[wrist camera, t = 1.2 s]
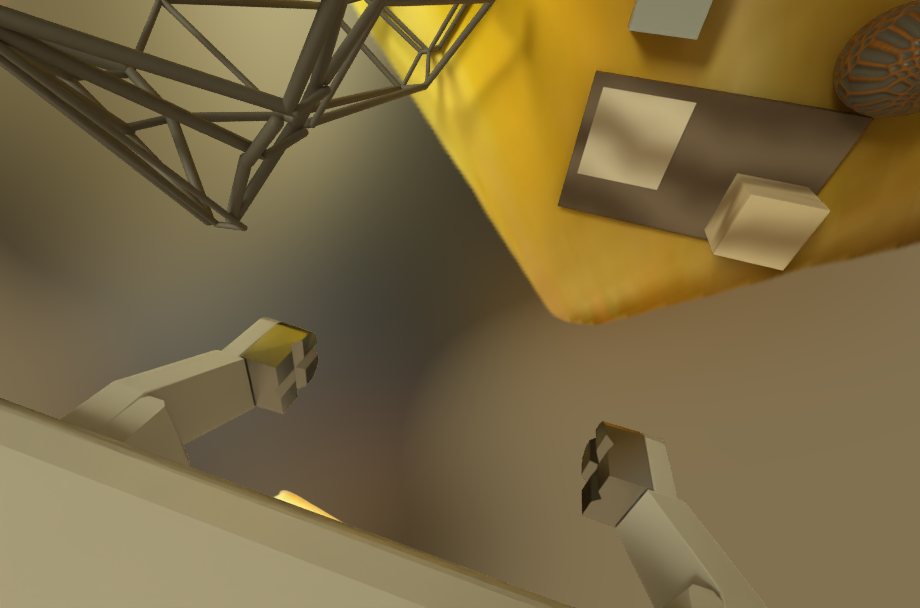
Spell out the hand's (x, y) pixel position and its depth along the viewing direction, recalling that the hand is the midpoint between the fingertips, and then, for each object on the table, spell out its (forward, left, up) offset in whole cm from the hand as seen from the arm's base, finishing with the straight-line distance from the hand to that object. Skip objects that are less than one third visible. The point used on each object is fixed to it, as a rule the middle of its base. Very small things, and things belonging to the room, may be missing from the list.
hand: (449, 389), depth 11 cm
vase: (-7, +22, -37) cm, 43 cm away
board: (+4, +13, -36) cm, 39 cm away
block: (+6, +20, -35) cm, 41 cm away
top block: (-9, +6, -36) cm, 38 cm away
